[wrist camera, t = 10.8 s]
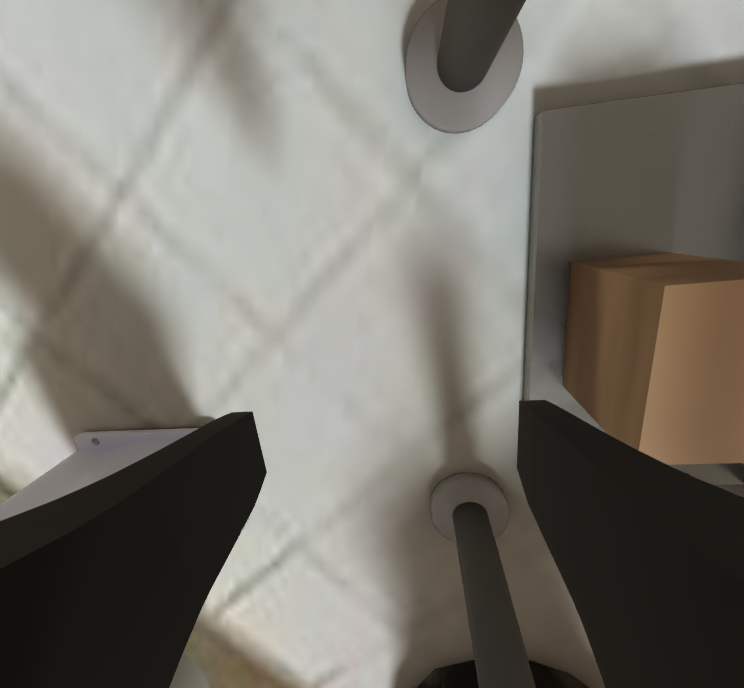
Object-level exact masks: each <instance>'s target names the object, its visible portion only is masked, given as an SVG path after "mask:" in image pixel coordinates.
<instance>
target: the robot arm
mask: <svg viewBox="0 0 744 688" xmlns="http://www.w3.org/2000/svg"><path fill="white" fill-rule="evenodd" d="M74 441H75V444H76V446H77V449H78V451H76V452H75V453H74V454H72V455H71V456H69V457H68V458H66V459H65V460H63V461H62V462H61V463H59V464H58V465H56V466H55V467H53V468H52V469H51V470H49V471H48V472H46V473H45V474H43V475H42V476H40V477H39V478H38V479H36V480H35V481H33V482H32V483H30V484H29V485H28V486H26V487H25V488H23V489H22V490H20V491H19V492H18V493H16V494H15V495H13V496H12V497H10V498H9V499H7V500H6V501H5V502H3V503H2V504H0V688H169V686H170V684H171V681H172V679H173V676H174V674H175V671H176V669H177V666H178V663H179V661H180V658H181V656H182V653H183V651H184V649H185V646H186V644H187V642H188V639H189V637H190V634H191V632H192V630H193V627H194V625H195V623H196V620H197V618H198V615H199V613H200V611H201V608H202V606H203V604H204V602H205V600H206V598H207V596H208V594H209V592H210V590H211V588H212V586H213V584H214V582H215V580H216V578H217V577H218V575H219V573H220V571H221V569H222V567H223V565H224V563H225V561H226V560H227V558H228V556H229V554H230V552H231V550H232V548H233V546H234V544H235V543H236V541H237V539H238V537H239V535H240V534H241V533H242V531H243V529H244V528H245V527H244V525H245V523H246V522H247V520H248V518H249V516H250V514H251V512H252V510H253V508H254V506H255V503H256V501H257V498H258V495H259V493H260V490H261V487H262V484H263V481H264V479H265V476H266V473H267V472H266V467H265V463H264V459H263V455H262V450H261V446H260V442H259V438H258V433H257V429H256V425H255V421H254V416H253V412H233V413H230V414H227V415H225V416H222V417H220V418H218V419H216V420H214V421H212V422H210V423H208V424H206V425H204V426H202V427H201V428H182V429H154V430H126V431H98V432H81V433H79V434H78V435H76V436H75V438H74ZM517 469H518V472H519V476H520V479H521V482H522V486H523V489H524V492H525V495H526V498H527V501H528V504H529V506H530V508H531V511H532V513H533V515H534V517H535V520H536V522H537V524H538V526H539V528H540V530H541V533H542V535H543V537H544V539H545V541H546V543H547V546H548V548H549V550H550V552H551V554H552V556H553V558H554V561H555V563H556V565H557V567H558V569H559V571H560V573H561V576H562V578H563V580H564V582H565V584H566V586H567V588H568V591H569V593H570V595H571V597H572V599H573V602H574V604H575V606H576V609H577V611H578V614H579V616H580V618H581V621H582V623H583V626H584V629H585V632H586V634H587V637H588V640H589V643H590V645H591V648H592V651H593V654H594V656H595V659H596V662H597V665H598V667H599V670H600V673H601V676H602V678H603V681H604V684H605V687H606V688H744V498H742V497H740V496H737V495H735V494H733V493H730V492H728V491H726V490H723V489H721V488H719V487H716V486H714V485H712V484H709V483H707V482H704V481H702V480H700V479H697V478H695V477H693V476H690V475H688V474H686V473H684V472H682V471H680V470H677V469H675V468H673V467H671V466H669V465H667V464H665V463H663V462H661V461H659V460H657V459H655V458H653V457H651V456H649V455H647V454H645V453H643V452H640V451H638V450H637V449H635V448H633V447H631V446H629V445H627V444H625V443H623V442H621V441H619V440H618V439H616V438H614V437H612V436H610V435H608V434H607V433H605V432H603V431H601V430H599V429H598V428H596V427H594V426H592V425H590V424H589V423H587V422H585V421H583V420H582V419H580V418H578V417H576V416H575V415H573V414H571V413H569V412H568V411H566V410H564V409H562V408H560V407H559V406H557V405H555V404H553V403H551V402H549V401H546V400H526V401H519V428H518V455H517Z"/></svg>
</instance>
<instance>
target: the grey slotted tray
mask: <svg viewBox="0 0 744 688" xmlns="http://www.w3.org/2000/svg"><path fill="white" fill-rule="evenodd" d="M664 253H678V254H686V255H694V256H702V257H711V258H719V259H727V260H735V261H743V262H744V83H741V84H733V85H726V86H719V87H712V88H704V89H697V90H690V91H682V92H675V93H668V94H661V95H653V96H646V97H639V98H631V99H624V100H617V101H610V102H602V103H595V104H588V105H580V106H573V107H566V108H558V109H551V110H544V111H542V112H541V113H540V114H538V115H537V116H536V117H535V119H534V144H533V168H532V193H531V217H530V242H529V266H528V291H527V315H526V340H525V364H524V389H523V401H526V400H546V401H549V402H551V403H553V404H555V405H557V406H559V407H560V408H562V409H564V410H566V411H568V412H569V413H571V414H573V415H575V416H576V417H578V418H580V419H582V420H583V421H585V422H587V423H589V424H590V425H592V426H594V427H596V428H598V429H599V430H601V431H603V432H605V431H604V430H603V429H602V428H601V427H600V426H599V425H598V423H597V422H596V421H595V420H594V419H593V418H592V417H591V416H590V415H589V414H588V413H587V412H586V411H585V409H584V408H583V407H582V406H581V405H580V404H579V403H578V402H577V401H576V400H575V399H574V398H573V397H572V395H571V394H570V393H569V392H568V391H567V390H566V389H565V388H564V387H563V375H564V362H565V348H566V334H567V321H568V307H569V293H570V280H571V266H572V262H576V261H587V260H598V259H609V258H620V257H631V256H642V255H653V254H664ZM605 433H606V432H605ZM669 466H671V467H673V468H675V469H677V470H680V471H682V472H684V473H686V474H688V475H690V476H693V477H695V478H697V479H700V480H702V481H704V482H707V483H709V484H712V485H741V484H744V463H721V464H677V465H669Z"/></svg>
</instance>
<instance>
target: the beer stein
mask: <svg viewBox="0 0 744 688" xmlns="http://www.w3.org/2000/svg"><path fill="white" fill-rule="evenodd" d="M529 665H530V669H531V672H532V676H533V680H534V683H535V687H536V688H588V687H587V686H586V685H584V684H583V683H582V682H580V681H579V680H578V679H576V678H575V677H574V676H572V675H571V674H568V673H565V672H562V671H559V670H556V669H553V668H550V667H547V666H544V665H541V664H538V663H535V662H532V661H529ZM417 688H479V684H478V678H477V671H476V665H475V660H472V661H468V662H464V663H459V664H455V665H451V666H447V667H442V668H438V669H435V670H434V671H433V672H432V673H431V674H430V675H429V676H428V677H427V678H426V679H425V680H424V681H423V682H422V683H421V684H420V685H419V686H418V687H417Z"/></svg>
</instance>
